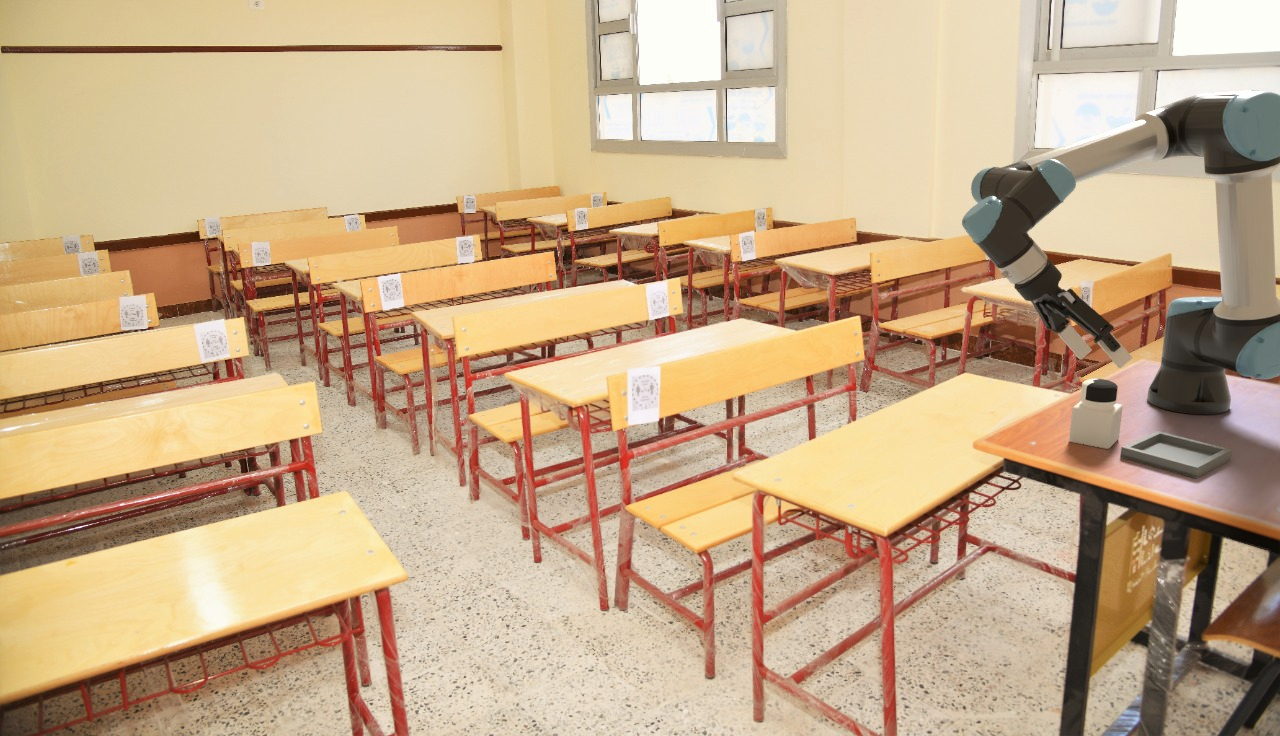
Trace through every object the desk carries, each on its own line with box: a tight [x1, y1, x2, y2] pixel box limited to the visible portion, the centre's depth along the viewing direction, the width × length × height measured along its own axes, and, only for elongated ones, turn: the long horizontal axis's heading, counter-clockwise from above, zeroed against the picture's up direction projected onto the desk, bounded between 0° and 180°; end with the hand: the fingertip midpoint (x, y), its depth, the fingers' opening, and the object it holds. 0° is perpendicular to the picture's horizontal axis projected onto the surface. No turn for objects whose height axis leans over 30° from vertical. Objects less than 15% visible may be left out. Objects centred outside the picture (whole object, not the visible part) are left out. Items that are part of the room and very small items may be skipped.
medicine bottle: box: [1068, 378, 1123, 450], centre depth 170 cm, size 7×7×12 cm
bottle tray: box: [1119, 430, 1233, 479], centre depth 161 cm, size 13×13×2 cm
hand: (1105, 358), depth 161 cm, fingers open, 13 cm apart
